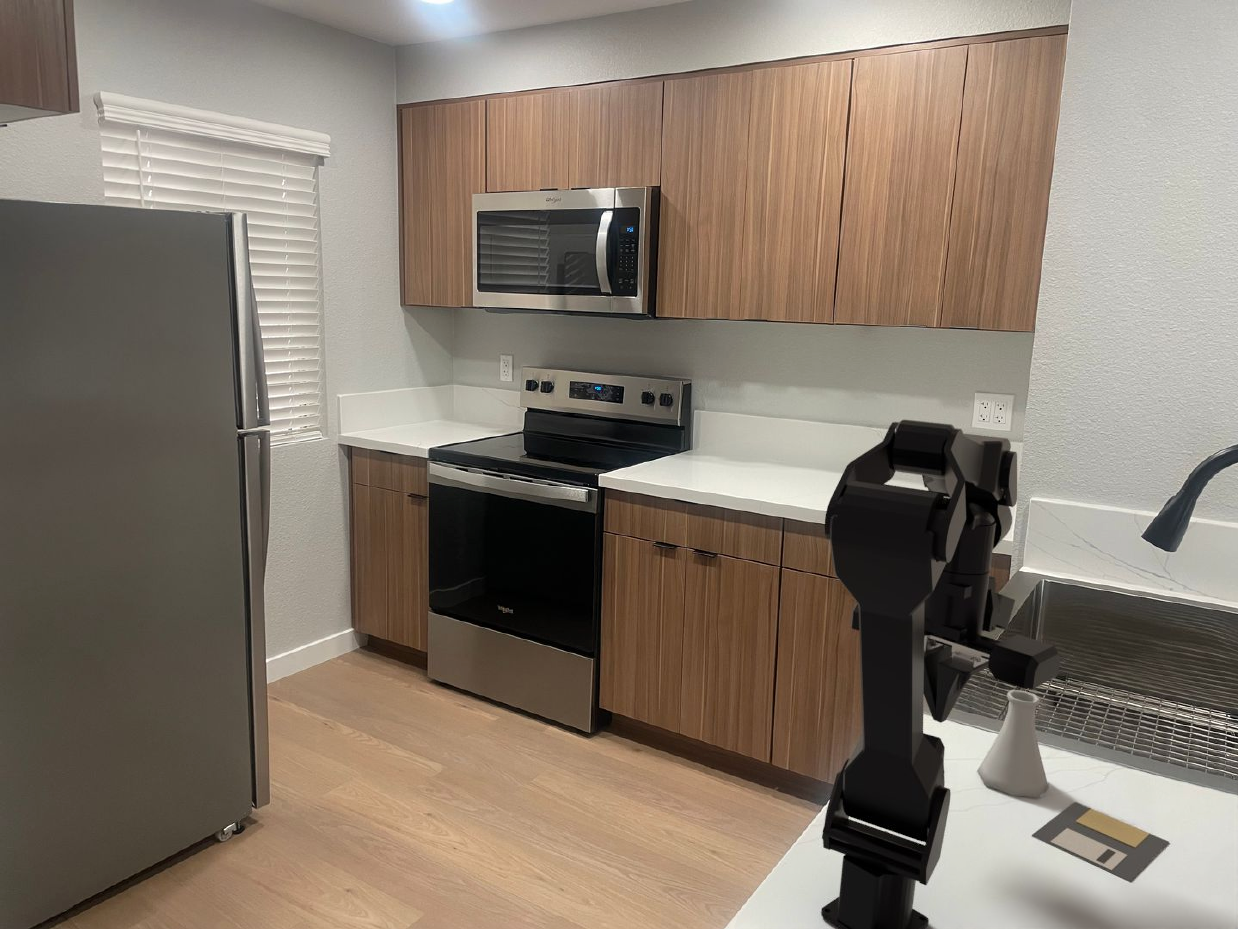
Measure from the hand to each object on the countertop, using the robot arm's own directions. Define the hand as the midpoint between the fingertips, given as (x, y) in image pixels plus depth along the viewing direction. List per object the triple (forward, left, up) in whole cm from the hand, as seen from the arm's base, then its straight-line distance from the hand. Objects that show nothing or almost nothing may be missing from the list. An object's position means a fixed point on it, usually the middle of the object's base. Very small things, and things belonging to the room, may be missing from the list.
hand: (939, 720), depth 88 cm
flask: (+15, -1, -11) cm, 19 cm away
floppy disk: (+11, -12, -11) cm, 20 cm away
